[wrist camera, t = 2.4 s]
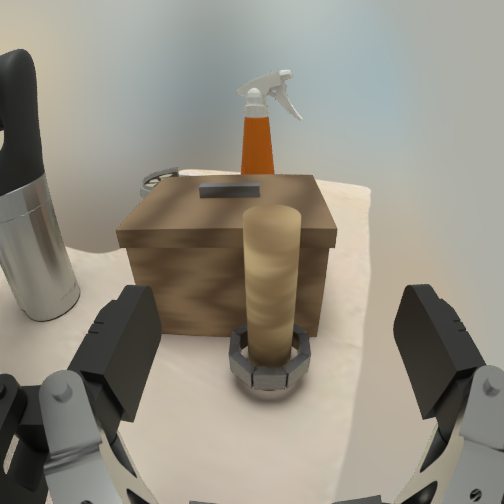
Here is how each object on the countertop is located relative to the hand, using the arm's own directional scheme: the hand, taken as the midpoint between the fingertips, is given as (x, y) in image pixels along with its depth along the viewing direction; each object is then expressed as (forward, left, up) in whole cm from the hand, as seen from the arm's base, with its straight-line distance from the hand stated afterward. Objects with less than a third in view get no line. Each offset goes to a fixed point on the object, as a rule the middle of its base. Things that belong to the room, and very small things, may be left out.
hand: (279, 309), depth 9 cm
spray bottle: (0, +40, -18) cm, 44 cm away
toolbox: (-4, +22, -17) cm, 29 cm away
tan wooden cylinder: (0, +10, -17) cm, 20 cm away
